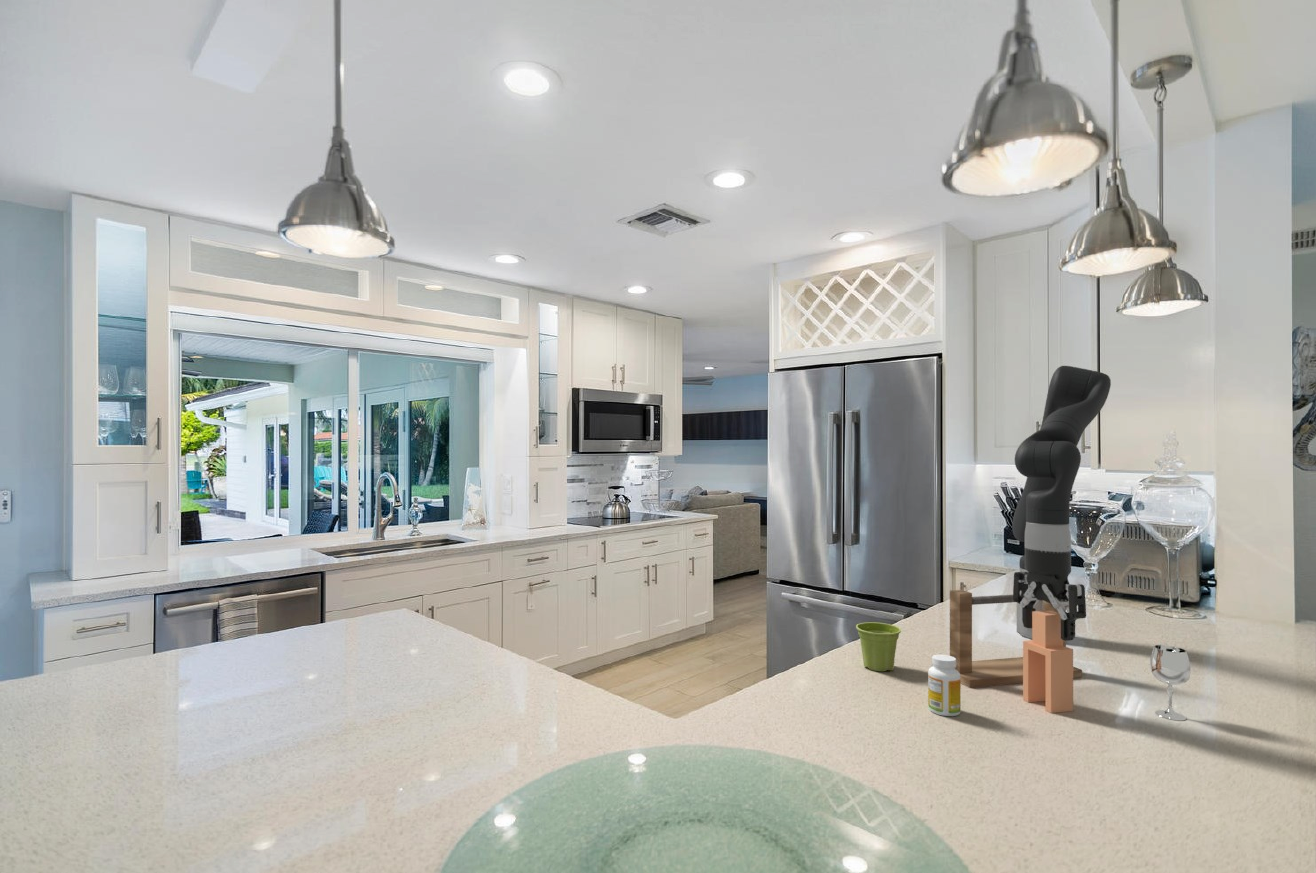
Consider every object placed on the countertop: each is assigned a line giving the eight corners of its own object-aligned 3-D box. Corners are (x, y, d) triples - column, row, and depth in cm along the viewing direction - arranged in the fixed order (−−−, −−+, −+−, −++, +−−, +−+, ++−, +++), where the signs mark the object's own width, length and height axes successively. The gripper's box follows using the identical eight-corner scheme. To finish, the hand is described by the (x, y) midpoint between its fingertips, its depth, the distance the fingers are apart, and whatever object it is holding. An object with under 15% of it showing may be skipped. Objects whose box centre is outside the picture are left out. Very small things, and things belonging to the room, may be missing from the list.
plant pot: (853, 671, 140) (853, 630, 140) (857, 658, 149) (857, 620, 149) (900, 677, 137) (900, 635, 137) (901, 663, 145) (901, 624, 145)
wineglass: (1185, 712, 119) (1184, 646, 120) (1195, 724, 114) (1195, 655, 114) (1146, 706, 122) (1146, 642, 122) (1155, 718, 117) (1154, 650, 117)
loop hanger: (1023, 699, 125) (1023, 609, 125) (1044, 697, 126) (1044, 608, 126) (1050, 713, 118) (1050, 617, 119) (1073, 710, 120) (1073, 616, 120)
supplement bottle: (958, 707, 121) (958, 654, 121) (962, 718, 115) (962, 663, 116) (927, 703, 122) (927, 651, 123) (929, 714, 117) (929, 660, 117)
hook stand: (936, 671, 141) (936, 587, 141) (1043, 661, 148) (1043, 582, 148) (969, 687, 131) (969, 597, 131) (1082, 676, 138) (1081, 591, 138)
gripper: (1097, 552, 117) (1097, 643, 117) (1033, 541, 131) (1033, 622, 130) (1063, 553, 115) (1063, 646, 115) (1002, 542, 129) (1002, 624, 128)
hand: (1047, 633), depth 122 cm, fingers open, 8 cm apart
